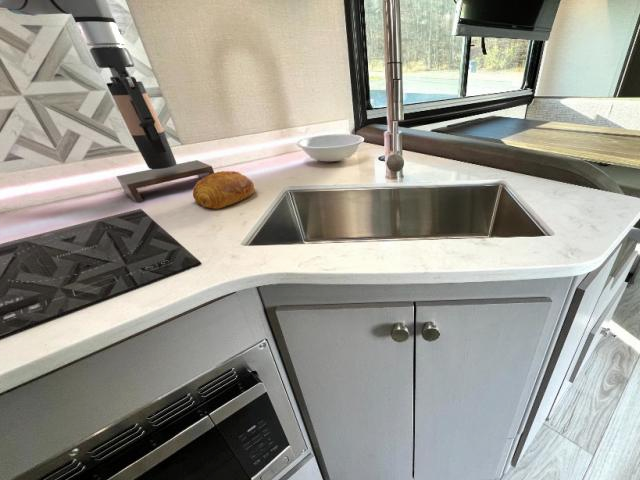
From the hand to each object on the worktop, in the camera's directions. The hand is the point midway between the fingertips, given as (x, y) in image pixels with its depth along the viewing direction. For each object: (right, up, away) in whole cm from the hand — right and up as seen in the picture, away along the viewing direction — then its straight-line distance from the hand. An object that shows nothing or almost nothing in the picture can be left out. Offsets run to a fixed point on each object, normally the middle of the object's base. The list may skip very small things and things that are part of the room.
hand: (155, 150), depth 89 cm
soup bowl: (+44, +10, +28) cm, 53 cm away
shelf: (0, -8, +6) cm, 11 cm away
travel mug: (0, -3, +3) cm, 4 cm away
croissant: (+22, -15, -3) cm, 26 cm away
